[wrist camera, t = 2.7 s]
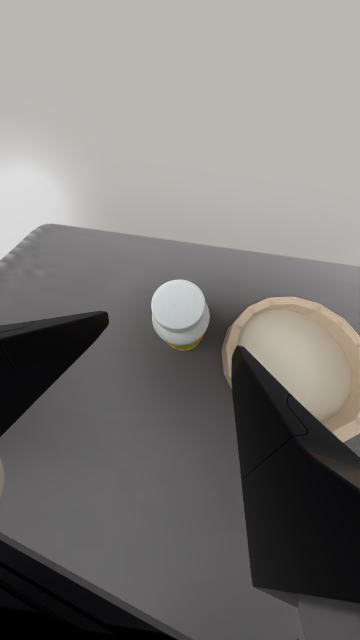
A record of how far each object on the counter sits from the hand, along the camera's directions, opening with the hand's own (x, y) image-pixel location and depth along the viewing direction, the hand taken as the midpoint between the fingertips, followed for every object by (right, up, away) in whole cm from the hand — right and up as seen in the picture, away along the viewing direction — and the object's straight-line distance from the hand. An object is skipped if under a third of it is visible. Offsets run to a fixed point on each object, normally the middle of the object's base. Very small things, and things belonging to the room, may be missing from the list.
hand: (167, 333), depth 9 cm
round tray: (+14, -4, +8) cm, 16 cm away
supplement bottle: (+1, -1, +10) cm, 10 cm away
